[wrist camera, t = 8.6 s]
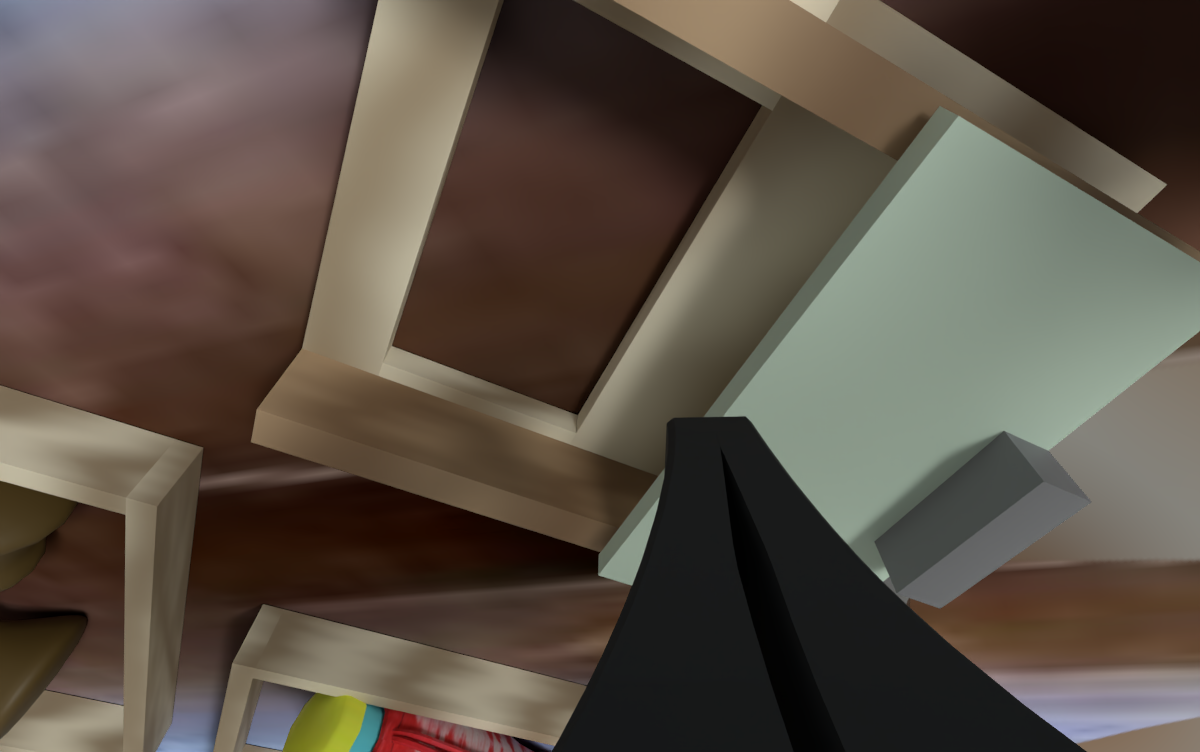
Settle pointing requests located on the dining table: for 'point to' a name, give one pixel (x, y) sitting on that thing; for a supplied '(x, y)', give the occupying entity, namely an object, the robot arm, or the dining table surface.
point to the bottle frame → (388, 680)
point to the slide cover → (952, 361)
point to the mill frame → (152, 561)
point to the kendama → (33, 646)
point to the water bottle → (384, 730)
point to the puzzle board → (688, 283)
